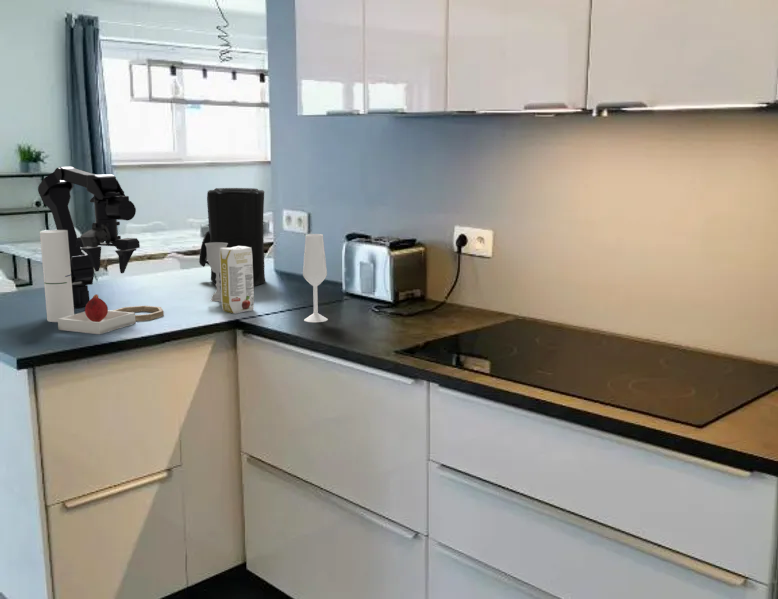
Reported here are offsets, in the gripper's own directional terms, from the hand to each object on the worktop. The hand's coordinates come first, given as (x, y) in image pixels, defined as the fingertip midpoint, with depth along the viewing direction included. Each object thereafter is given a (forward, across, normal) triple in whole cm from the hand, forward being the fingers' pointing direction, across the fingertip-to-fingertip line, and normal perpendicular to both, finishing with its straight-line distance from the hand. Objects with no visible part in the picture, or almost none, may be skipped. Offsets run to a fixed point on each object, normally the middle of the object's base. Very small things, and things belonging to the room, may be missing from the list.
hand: (109, 272), depth 232 cm
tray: (+12, +9, -16) cm, 22 cm away
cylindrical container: (+12, -7, -13) cm, 19 cm away
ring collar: (+12, +10, -1) cm, 16 cm away
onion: (+11, +9, -16) cm, 21 cm away
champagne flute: (+12, +60, +14) cm, 63 cm away
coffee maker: (+12, +4, +56) cm, 57 cm away
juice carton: (+12, +33, +16) cm, 39 cm away
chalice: (+12, +18, +28) cm, 35 cm away
